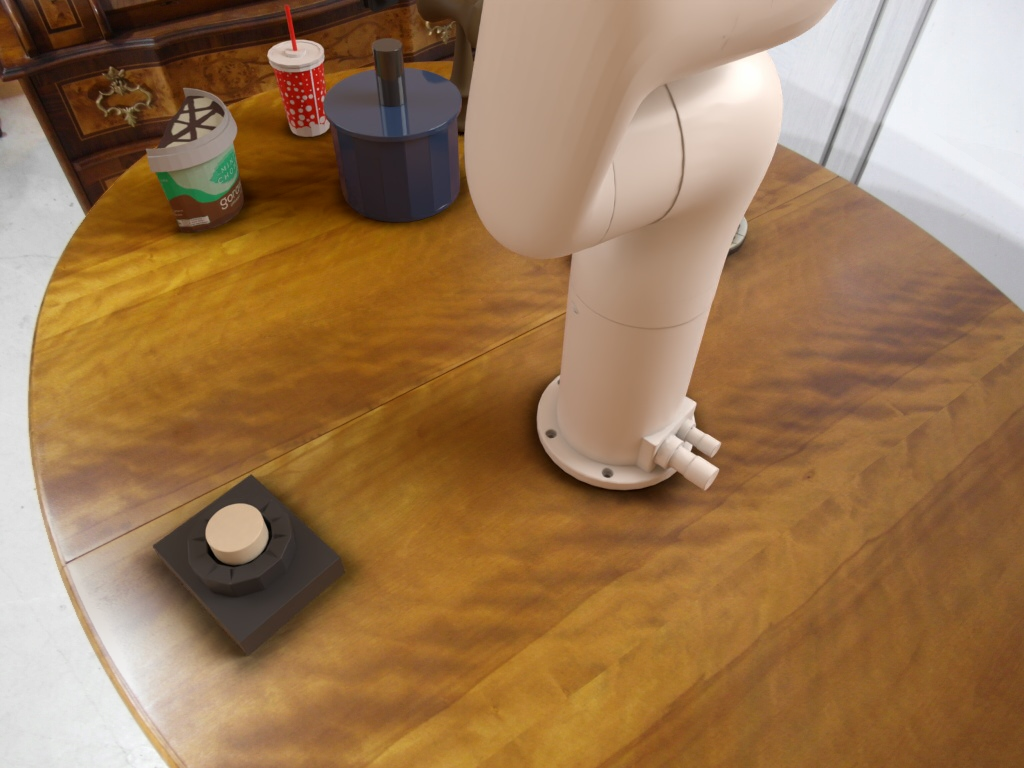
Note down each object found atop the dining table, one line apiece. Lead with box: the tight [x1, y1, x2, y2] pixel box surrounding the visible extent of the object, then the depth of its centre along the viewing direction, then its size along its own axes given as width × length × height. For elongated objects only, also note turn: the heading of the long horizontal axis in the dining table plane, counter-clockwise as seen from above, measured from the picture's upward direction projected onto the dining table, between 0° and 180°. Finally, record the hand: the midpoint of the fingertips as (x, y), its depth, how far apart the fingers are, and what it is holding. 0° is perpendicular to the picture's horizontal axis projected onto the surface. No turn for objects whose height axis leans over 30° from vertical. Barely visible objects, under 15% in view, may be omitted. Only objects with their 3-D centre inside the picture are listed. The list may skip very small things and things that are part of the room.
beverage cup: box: [267, 3, 331, 138], centre depth 87 cm, size 6×6×14 cm
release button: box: [206, 504, 269, 565], centre depth 50 cm, size 4×4×2 cm
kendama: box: [415, 0, 484, 133], centre depth 85 cm, size 6×10×20 cm, turn 44°
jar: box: [329, 118, 461, 223], centre depth 80 cm, size 13×13×10 cm
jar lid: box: [323, 37, 462, 142], centre depth 75 cm, size 14×14×7 cm
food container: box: [145, 87, 245, 233], centre depth 77 cm, size 12×6×10 cm, turn 179°
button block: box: [152, 474, 346, 657], centre depth 52 cm, size 10×8×4 cm
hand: (380, 4), depth 69 cm, fingers closed
